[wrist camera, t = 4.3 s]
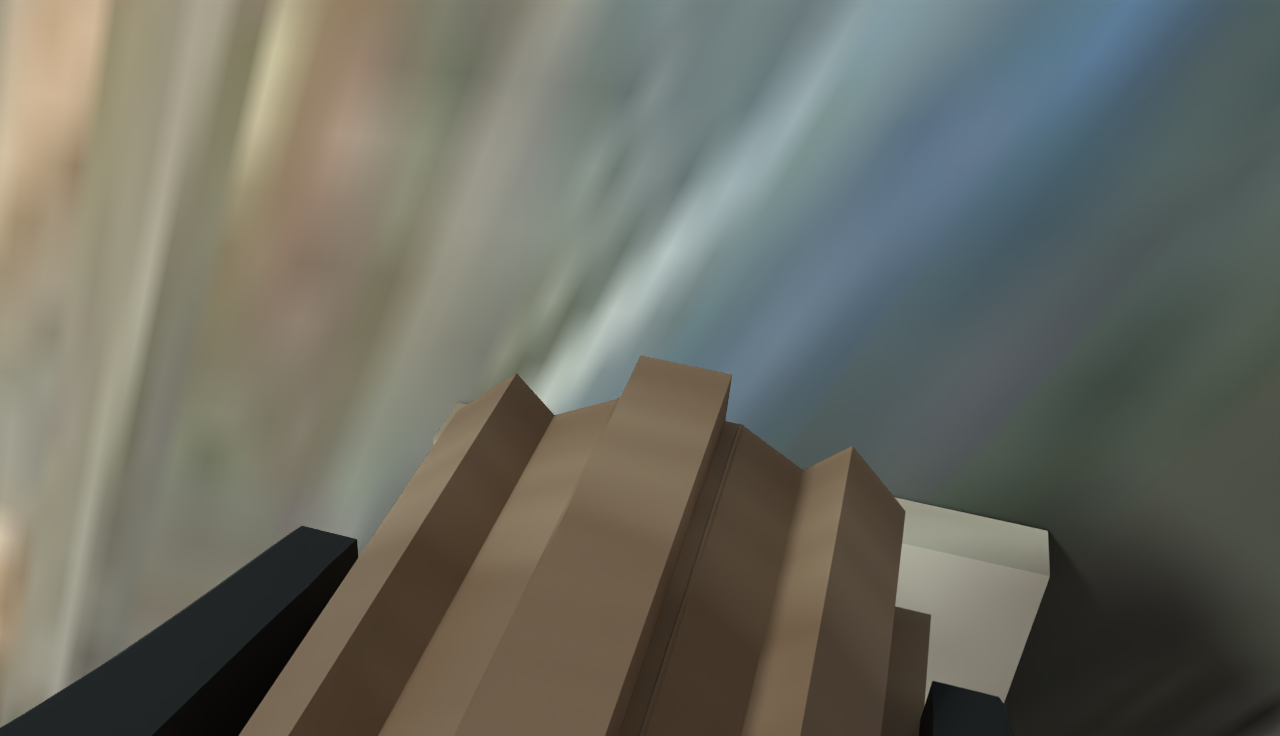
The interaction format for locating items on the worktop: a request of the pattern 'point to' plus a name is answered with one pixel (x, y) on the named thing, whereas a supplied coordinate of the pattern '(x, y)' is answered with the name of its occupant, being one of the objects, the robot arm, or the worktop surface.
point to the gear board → (966, 590)
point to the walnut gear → (616, 584)
